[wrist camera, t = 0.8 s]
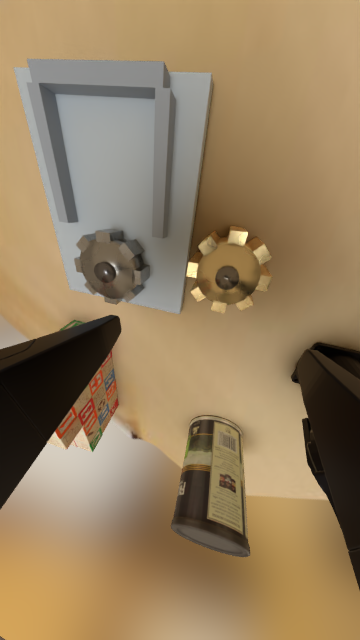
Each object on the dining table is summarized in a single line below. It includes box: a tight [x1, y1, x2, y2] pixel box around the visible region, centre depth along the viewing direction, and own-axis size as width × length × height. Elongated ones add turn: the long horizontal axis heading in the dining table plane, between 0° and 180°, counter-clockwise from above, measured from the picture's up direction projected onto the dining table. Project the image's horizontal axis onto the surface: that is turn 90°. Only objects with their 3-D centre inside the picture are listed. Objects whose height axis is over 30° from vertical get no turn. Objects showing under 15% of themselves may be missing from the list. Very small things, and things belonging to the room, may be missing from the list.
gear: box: [74, 229, 150, 305], centre depth 18 cm, size 7×7×3 cm
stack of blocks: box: [47, 320, 118, 452], centre depth 28 cm, size 21×6×12 cm, turn 173°
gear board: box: [14, 59, 213, 314], centre depth 17 cm, size 15×18×3 cm
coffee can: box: [171, 416, 250, 557], centre depth 29 cm, size 10×10×14 cm
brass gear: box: [186, 226, 272, 313], centre depth 16 cm, size 7×7×5 cm
